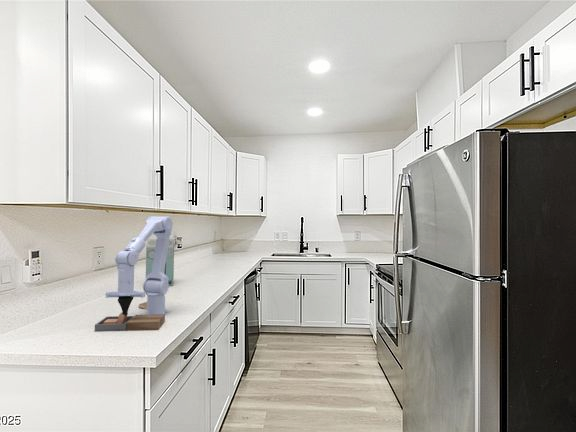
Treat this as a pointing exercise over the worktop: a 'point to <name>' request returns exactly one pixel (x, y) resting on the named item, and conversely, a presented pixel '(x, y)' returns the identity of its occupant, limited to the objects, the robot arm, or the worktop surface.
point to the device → (169, 259)
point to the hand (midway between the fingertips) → (125, 315)
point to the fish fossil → (143, 305)
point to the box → (112, 327)
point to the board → (146, 322)
